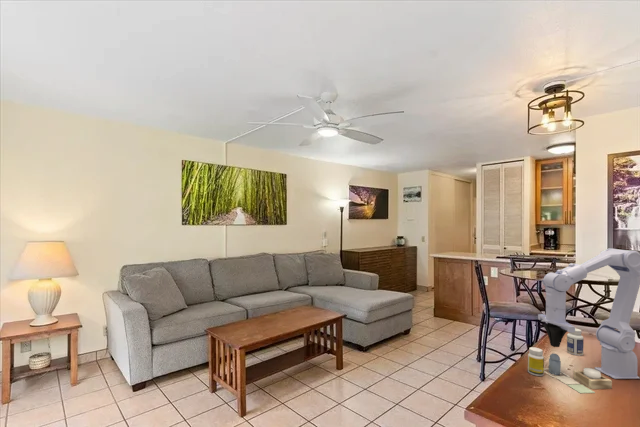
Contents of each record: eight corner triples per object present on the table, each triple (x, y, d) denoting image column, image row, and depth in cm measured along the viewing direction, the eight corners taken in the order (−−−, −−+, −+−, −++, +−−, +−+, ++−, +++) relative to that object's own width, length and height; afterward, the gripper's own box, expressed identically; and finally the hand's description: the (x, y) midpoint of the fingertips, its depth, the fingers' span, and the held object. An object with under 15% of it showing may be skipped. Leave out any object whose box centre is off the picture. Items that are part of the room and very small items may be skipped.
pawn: (555, 370, 120) (555, 351, 120) (562, 375, 116) (563, 355, 116) (546, 371, 119) (546, 351, 119) (553, 375, 116) (553, 355, 116)
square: (568, 377, 115) (568, 376, 115) (580, 384, 110) (580, 383, 110) (554, 377, 115) (554, 376, 115) (566, 384, 110) (566, 383, 110)
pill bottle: (582, 352, 137) (582, 328, 137) (584, 357, 133) (584, 332, 133) (566, 349, 140) (566, 326, 140) (567, 353, 135) (567, 329, 136)
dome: (592, 376, 113) (592, 367, 113) (604, 382, 109) (604, 373, 109) (580, 376, 113) (580, 367, 113) (591, 382, 108) (591, 374, 108)
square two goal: (581, 385, 109) (581, 384, 109) (595, 393, 104) (595, 392, 104) (567, 385, 109) (567, 384, 109) (580, 393, 104) (580, 392, 104)
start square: (556, 368, 121) (556, 368, 121) (570, 377, 115) (570, 376, 115) (539, 369, 121) (539, 368, 121) (552, 377, 114) (552, 376, 114)
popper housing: (592, 378, 114) (592, 370, 115) (611, 388, 108) (611, 380, 108) (573, 378, 114) (573, 370, 114) (591, 388, 107) (591, 380, 107)
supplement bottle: (546, 377, 114) (546, 352, 115) (531, 375, 115) (531, 351, 116) (540, 371, 119) (540, 347, 119) (525, 369, 120) (525, 346, 120)
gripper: (530, 302, 125) (529, 338, 125) (561, 313, 111) (560, 354, 110) (548, 302, 125) (547, 338, 125) (581, 313, 111) (580, 354, 111)
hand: (555, 346), depth 118 cm, fingers closed
